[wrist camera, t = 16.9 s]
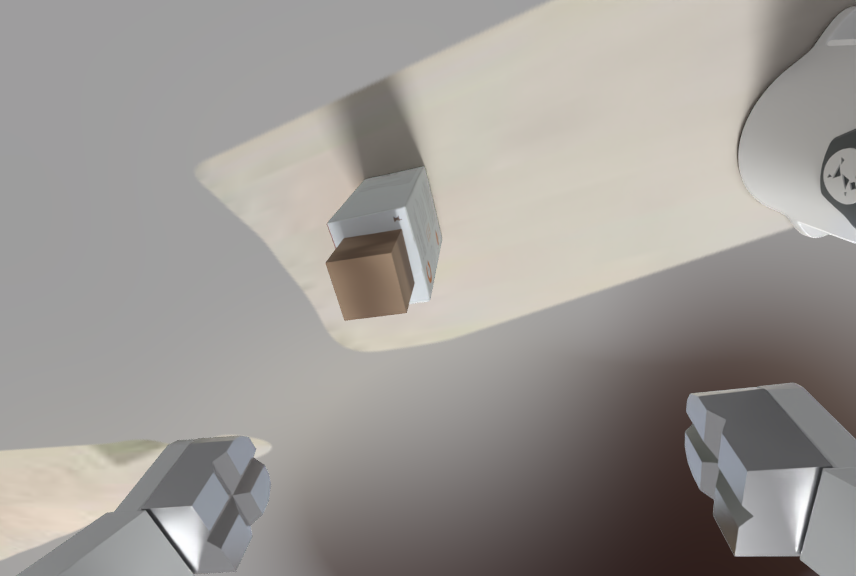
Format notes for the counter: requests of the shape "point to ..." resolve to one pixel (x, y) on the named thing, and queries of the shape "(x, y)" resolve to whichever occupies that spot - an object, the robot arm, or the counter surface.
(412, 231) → the small box
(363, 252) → the walnut cube
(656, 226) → the counter surface
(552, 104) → the counter surface
